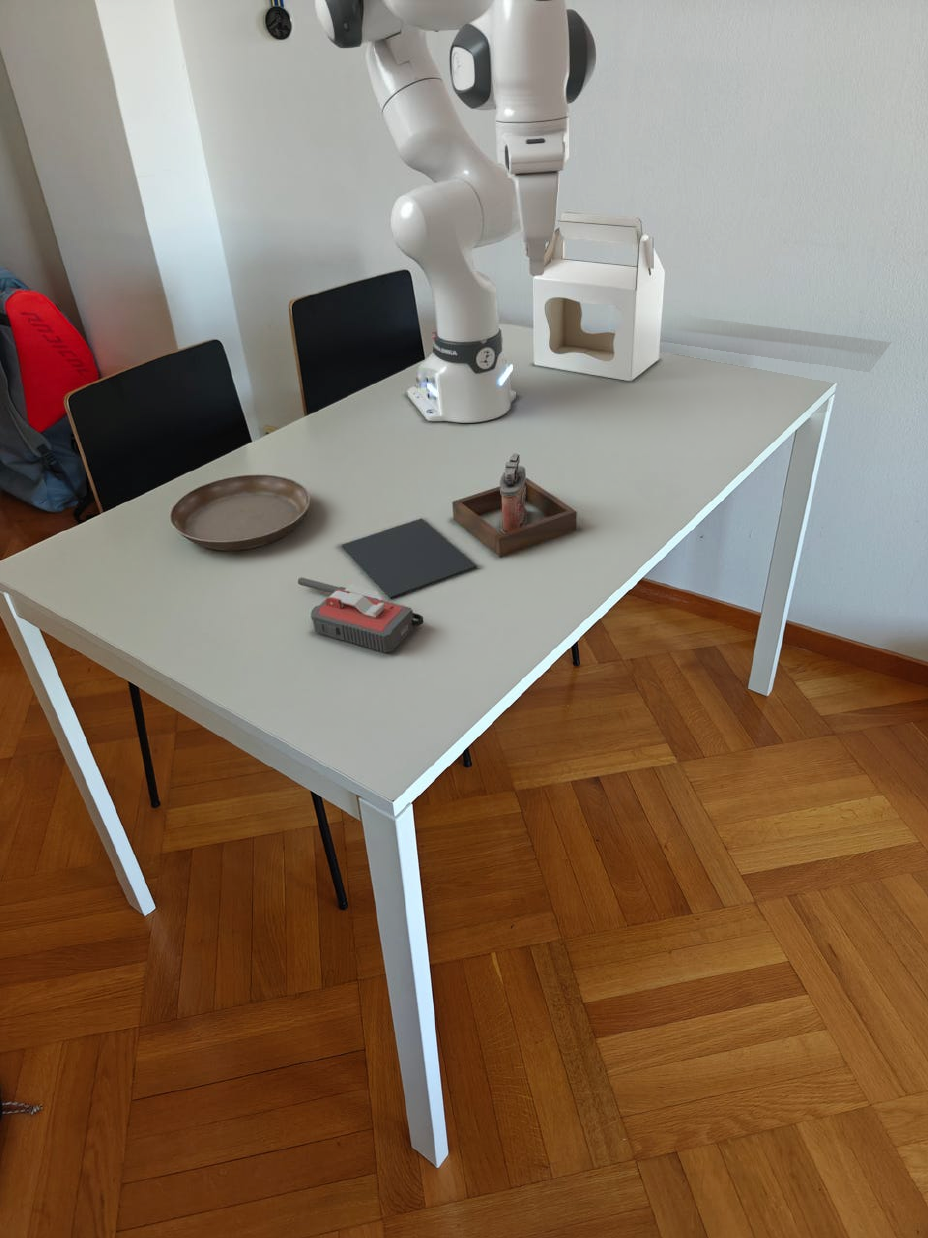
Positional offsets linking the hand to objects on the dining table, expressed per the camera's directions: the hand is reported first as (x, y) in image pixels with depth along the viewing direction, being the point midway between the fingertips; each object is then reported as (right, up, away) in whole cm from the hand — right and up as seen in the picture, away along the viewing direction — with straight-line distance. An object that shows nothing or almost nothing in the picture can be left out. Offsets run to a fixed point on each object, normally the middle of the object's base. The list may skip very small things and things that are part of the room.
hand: (534, 264), depth 115 cm
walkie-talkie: (-24, -46, -3) cm, 52 cm away
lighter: (-2, -32, +14) cm, 35 cm away
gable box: (+18, +6, +66) cm, 68 cm away
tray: (-2, -32, +14) cm, 35 cm away
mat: (-17, -37, +8) cm, 42 cm away
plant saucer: (-42, -32, +19) cm, 56 cm away
